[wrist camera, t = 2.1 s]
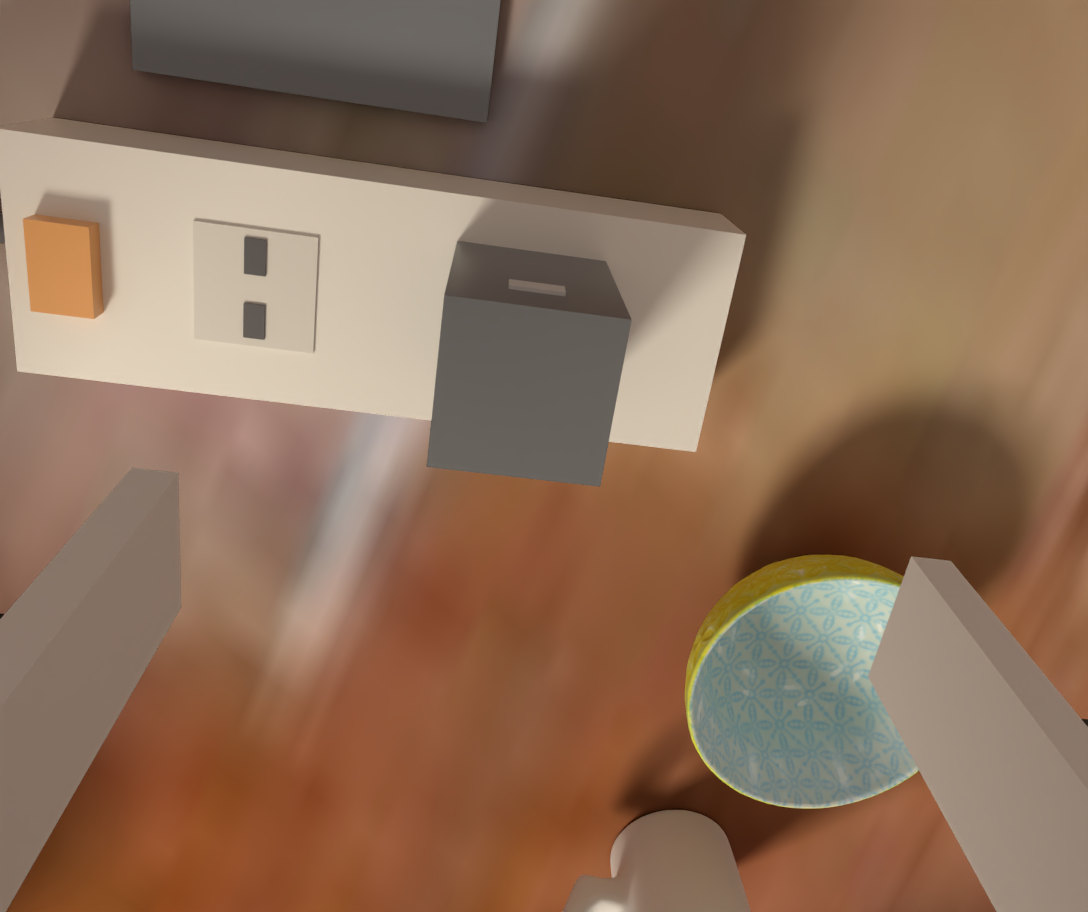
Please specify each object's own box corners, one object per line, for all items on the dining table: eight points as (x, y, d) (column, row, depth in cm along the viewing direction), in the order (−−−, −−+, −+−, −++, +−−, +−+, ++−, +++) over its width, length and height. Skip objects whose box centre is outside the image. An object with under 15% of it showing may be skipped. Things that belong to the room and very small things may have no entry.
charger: (445, 365, 34) (426, 466, 26) (459, 227, 32) (444, 290, 24) (578, 382, 35) (600, 486, 27) (601, 247, 32) (632, 315, 25)
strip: (-111, 314, 35) (-200, 354, 30) (-146, 89, 32) (-250, 97, 27) (677, 411, 38) (699, 461, 33) (720, 213, 34) (752, 239, 30)
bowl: (879, 462, 39) (941, 534, 33) (936, 665, 44) (999, 758, 38) (627, 554, 40) (646, 638, 35) (708, 741, 45) (736, 843, 39)
